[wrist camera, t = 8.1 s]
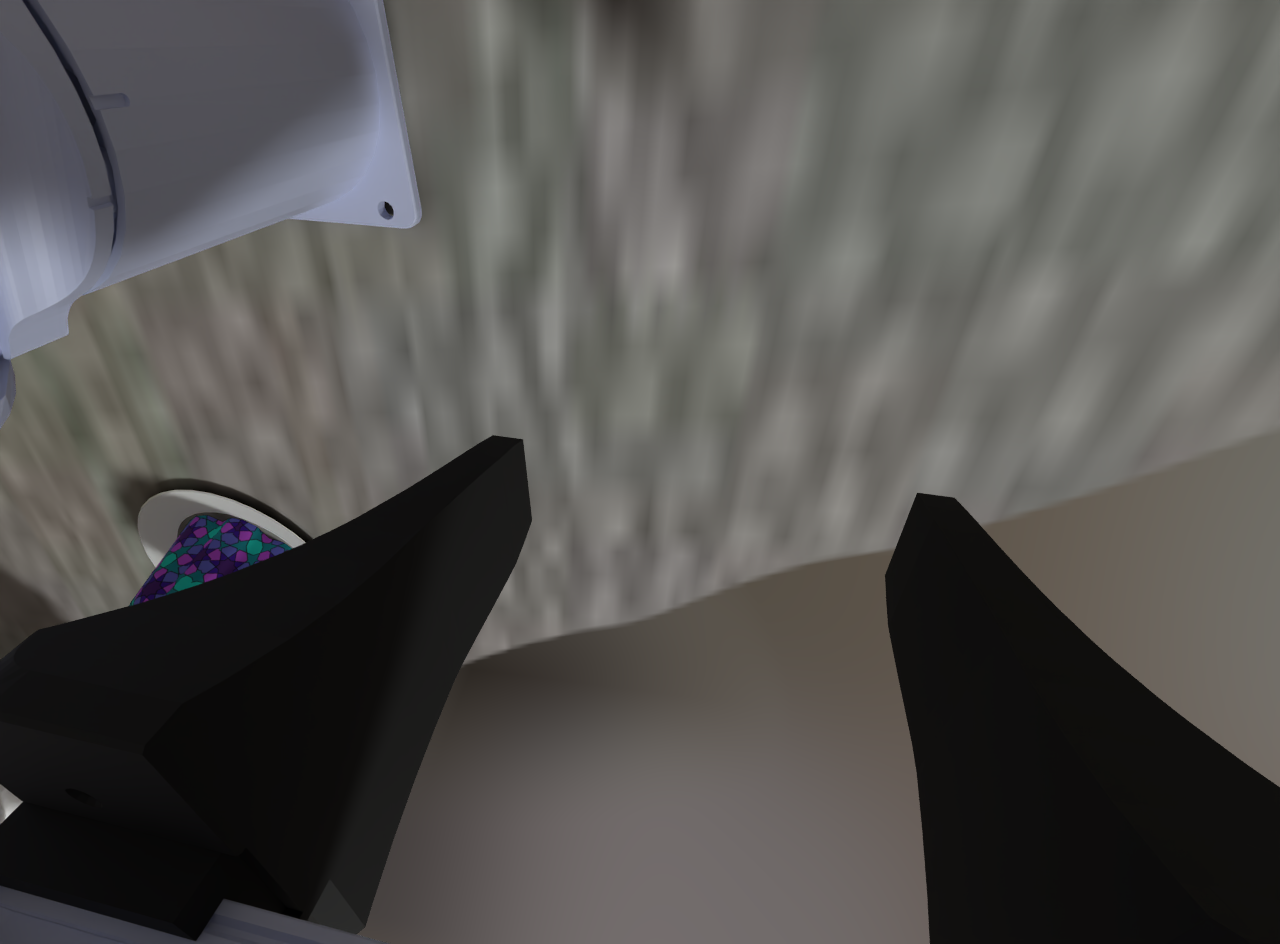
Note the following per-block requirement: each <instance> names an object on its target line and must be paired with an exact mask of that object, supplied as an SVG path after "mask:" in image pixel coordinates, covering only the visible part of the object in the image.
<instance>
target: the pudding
mask: <svg viewBox="0 0 1280 944" xmlns="http://www.w3.org/2000/svg"><path fill="white" fill-rule="evenodd" d="M203 512H216V513H222V514H228V515H232V516H235V517H239V518H242V519H245V520H247V521H250V522H252V523H254V524H257V525H259V526H261V527H263V528H264V529H266V530H268V531H270V532H272V533H273V534H275V535H276V536H278V537H279V538H281V539H282V540H284V541H285V542H287V543H288V544H289V545H290V546H292V547H293V548H295V547H297V546H300V545H302V544H304V543H306V542H305V541H303V540H302V539H301V538H300V537H298V536H297V535H296V534H295V533H294V532H292V531H291V530H289V529H288V528H286V527H285V526H283V525H282V524H280V523H279V522H277V521H276V520H274V519H272V518H270V517H268V516H267V515H265V514H263V513H261V512H259V511H257V510H255V509H254V508H251V507H249V506H247V505H244V504H242V503H239V502H237V501H235V500H232V499H229V498H226V497H222V496H219V495H216V494H212V493H207V492H201V491H195V490H172V491H167V492H161V493H159V494H157V495H155V496H153V497H151V498H149V499H148V500H147V501H146V502H145V503H144V505H143V506H142V507H141V510H140V512H139V515H138V532H139V536H140V540H141V542H142V545H143V547H144V549H145V551H146V553H147V555H148V557H149V558H150V560H151V561H152V563H153V564H154V566H155V567H156V568H155V570H154V571H153V572H152V574H151V575H150V576H149V578H148V579H147V581H146V582H145V583H144V585H143V586H142V588H141V589H140V590H139V592H138V593H137V594H136V596H135V597H134V599H133V600H132V601H131V603H130V605H129V606H132V605H135V604H138V603H142V602H145V601H149V600H152V599H155V598H158V597H162V596H165V595H168V594H171V593H174V592H177V591H181V590H184V589H187V588H190V587H193V586H196V585H199V584H202V583H205V582H207V581H210V580H213V579H216V578H219V577H222V576H225V575H227V574H230V573H233V572H235V571H238V570H240V569H243V568H245V567H248V566H250V565H253V564H255V563H258V562H260V561H263V560H265V559H268V558H270V557H273V556H276V555H278V554H281V553H283V552H286V551H288V550H290V549H292V548H291V547H289V546H288V545H286V544H285V543H283V542H280V541H276V540H272V539H269V538H268V537H267V536H266V535H265V534H264V533H263V532H262V531H261V530H260V529H259V528H258V527H256V526H254V525H252V524H250V523H248V522H246V521H244V520H239V519H235V518H229V519H227V520H225V521H223V522H221V521H219V520H217V519H215V518H212V517H210V516H208V515H203V516H196V517H194V518H193V519H192V520H190V522H189V523H188V524H187V526H186V527H185V529H184V530H183V531H182V532H181V534H180V535H179V536H178V538H177V534H178V528H179V526H180V524H181V522H183V521H184V520H185V519H186V518H187V517H189V516H191V515H194V514H197V513H203Z"/></svg>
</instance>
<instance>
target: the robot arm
mask: <svg viewBox="0 0 1280 944" xmlns="http://www.w3.org/2000/svg"><path fill="white" fill-rule="evenodd" d="M385 202H388V203H389V204H390V205H391V206H392V208H393V210H394V216H391V215H390V214H389V213H388V212H387V211H386V209H385ZM421 217H422V209H421V204H420V198H419V193H418V188H417V182H416V177H415V171H414V166H413V160H412V155H411V150H410V144H409V139H408V133H407V128H406V122H405V117H404V111H403V106H402V101H401V95H400V90H399V84H398V79H397V73H396V68H395V62H394V57H393V52H392V46H391V41H390V35H389V30H388V24H387V19H386V13H385V8H384V3H383V0H0V429H1V427H2V426H3V424H4V423H5V421H6V419H7V418H8V416H9V415H10V412H11V409H12V406H13V402H14V399H15V395H16V384H15V374H14V370H13V367H12V364H11V360H10V359H12V358H14V357H17V356H19V355H22V354H24V353H26V352H29V351H31V350H33V349H36V348H38V347H40V346H43V345H45V344H48V343H50V342H52V341H55V340H57V339H59V338H62V337H64V336H66V335H68V334H69V329H68V313H69V310H70V307H71V305H72V304H73V302H74V301H76V300H77V299H78V298H79V297H80V296H82V295H85V294H88V293H91V292H94V291H96V290H99V289H102V288H104V287H107V286H110V285H112V284H115V283H118V282H120V281H123V280H126V279H128V278H131V277H134V276H136V275H139V274H142V273H144V272H147V271H150V270H152V269H155V268H158V267H160V266H163V265H166V264H168V263H171V262H174V261H176V260H179V259H181V258H184V257H187V256H189V255H192V254H195V253H197V252H200V251H203V250H205V249H208V248H211V247H213V246H216V245H219V244H221V243H224V242H227V241H229V240H232V239H235V238H237V237H240V236H243V235H245V234H248V233H251V232H253V231H256V230H259V229H261V228H264V227H267V226H269V225H272V224H275V223H277V222H280V221H283V220H285V219H299V220H311V221H322V222H334V223H346V224H358V225H370V226H381V227H393V228H411V227H413V226H415V225H416V224H418V223H419V222H420V220H421ZM531 522H532V516H531V507H530V498H529V489H528V480H527V471H526V462H525V453H524V445H523V439H516V438H509V437H501V436H494V435H493V436H491V437H489V438H487V439H486V440H484V441H482V442H481V443H479V444H477V445H476V446H474V447H473V448H471V449H469V450H468V451H466V452H465V453H463V454H462V455H460V456H458V457H457V458H455V459H454V460H452V461H451V462H449V463H448V464H446V465H444V466H443V467H441V468H440V469H438V470H437V471H435V472H433V473H432V474H430V475H429V476H427V477H425V478H424V479H422V480H421V481H419V482H417V483H416V484H414V485H413V486H411V487H410V488H408V489H406V490H404V491H403V492H401V493H399V494H397V495H396V496H394V497H392V498H390V499H389V500H387V501H385V502H383V503H382V504H380V505H378V506H376V507H375V508H373V509H371V510H369V511H368V512H366V513H364V514H362V515H361V516H359V517H357V518H355V519H353V520H351V521H349V522H348V523H346V524H344V525H342V526H340V527H338V528H336V529H334V530H332V531H330V532H327V533H325V534H323V535H321V536H319V537H317V538H315V539H312V540H310V541H308V542H306V543H304V544H302V545H300V546H297V547H295V548H293V549H290V550H288V551H286V552H283V553H281V554H278V555H276V556H273V557H270V558H268V559H265V560H263V561H260V562H258V563H255V564H253V565H250V566H248V567H245V568H243V569H240V570H238V571H235V572H233V573H230V574H227V575H225V576H222V577H219V578H216V579H213V580H210V581H207V582H205V583H202V584H199V585H196V586H193V587H190V588H187V589H184V590H181V591H177V592H174V593H171V594H168V595H165V596H162V597H158V598H155V599H152V600H149V601H145V602H142V603H138V604H135V605H132V606H128V607H124V608H121V609H117V610H113V611H109V612H106V613H102V614H98V615H94V616H90V617H87V618H83V619H79V620H75V621H72V622H68V623H64V624H60V625H56V626H52V627H48V628H44V629H40V630H38V631H36V632H35V633H33V634H32V635H31V636H29V637H28V638H27V639H26V640H24V641H23V642H22V643H21V644H19V645H18V646H17V647H16V648H15V649H13V650H12V651H11V652H10V653H8V654H7V655H6V656H5V657H4V658H2V659H1V660H0V784H1V785H2V786H3V787H5V788H6V789H7V790H8V791H10V792H11V793H12V794H13V795H15V796H16V797H17V798H19V799H20V800H21V801H23V802H22V803H21V804H20V805H19V806H18V807H17V808H16V809H15V810H14V811H13V812H12V813H11V814H10V815H9V816H8V817H7V818H6V819H5V820H4V821H3V822H2V823H0V944H389V943H386V942H382V941H378V940H375V939H371V938H367V937H363V936H360V935H356V934H357V933H359V932H360V931H361V930H362V929H363V928H365V926H366V923H367V919H368V916H369V913H370V910H371V907H372V903H373V900H374V897H375V894H376V891H377V888H378V885H379V882H380V879H381V876H382V873H383V870H384V867H385V864H386V861H387V858H388V855H389V852H390V849H391V845H392V842H393V839H394V836H395V834H396V831H397V828H398V825H399V823H400V820H401V817H402V814H403V811H404V808H405V806H406V803H407V800H408V797H409V794H410V792H411V789H412V786H413V783H414V780H415V778H416V775H417V772H418V770H419V767H420V765H421V762H422V760H423V757H424V754H425V752H426V749H427V747H428V744H429V742H430V739H431V736H432V734H433V731H434V729H435V726H436V724H437V721H438V719H439V717H440V714H441V712H442V709H443V707H444V704H445V702H446V700H447V697H448V694H449V692H450V690H451V688H452V685H453V683H454V680H455V678H456V676H457V674H458V672H459V670H460V668H461V666H462V664H463V662H464V660H465V658H466V656H467V654H468V652H469V650H470V649H471V647H472V645H473V643H474V641H475V639H476V637H477V636H478V634H479V632H480V630H481V628H482V626H483V625H484V623H485V621H486V619H487V617H488V615H489V613H490V612H491V610H492V608H493V606H494V604H495V602H496V601H497V599H498V597H499V595H500V593H501V591H502V589H503V587H504V586H505V584H506V582H507V580H508V578H509V576H510V574H511V572H512V570H513V568H514V567H515V565H516V562H517V560H518V557H519V554H520V552H521V549H522V547H523V544H524V541H525V539H526V536H527V533H528V530H529V527H530V525H531ZM885 582H886V602H887V615H888V627H889V633H890V638H891V643H892V648H893V653H894V658H895V663H896V668H897V673H898V678H899V683H900V688H901V692H902V697H903V702H904V706H905V712H906V716H907V722H908V726H909V731H910V736H911V741H912V746H913V752H914V758H915V765H916V771H917V780H918V790H919V800H920V811H921V821H922V830H923V845H924V856H925V871H926V883H927V897H928V915H929V934H930V944H1280V787H1278V786H1277V785H1276V784H1274V783H1273V782H1271V781H1270V780H1268V779H1267V778H1265V777H1264V776H1263V775H1261V774H1260V773H1258V772H1257V771H1255V770H1254V769H1253V768H1251V767H1250V766H1248V765H1247V764H1245V763H1244V762H1243V761H1241V760H1240V759H1239V758H1237V757H1236V756H1234V755H1233V754H1232V753H1231V752H1229V751H1228V750H1226V749H1225V748H1224V747H1222V746H1221V745H1220V744H1218V743H1217V742H1216V741H1214V740H1213V739H1212V738H1210V737H1209V736H1208V735H1206V734H1205V733H1204V732H1202V731H1201V730H1200V729H1198V728H1197V727H1195V726H1194V725H1193V724H1191V723H1190V722H1189V721H1187V720H1186V719H1185V718H1184V717H1182V716H1181V715H1180V714H1178V713H1177V712H1176V711H1175V710H1173V709H1172V708H1171V707H1170V706H1168V705H1167V704H1166V703H1164V702H1163V701H1162V700H1161V699H1159V698H1158V697H1157V696H1156V695H1155V694H1153V693H1152V692H1151V691H1150V690H1149V689H1147V688H1146V687H1145V686H1144V685H1143V684H1141V683H1140V682H1139V681H1138V680H1137V679H1135V678H1134V677H1133V676H1132V675H1131V674H1129V673H1128V672H1127V671H1126V670H1125V669H1124V668H1122V667H1121V666H1120V665H1119V664H1118V663H1116V662H1115V661H1114V660H1113V659H1112V658H1111V657H1109V656H1108V655H1107V654H1106V653H1105V652H1104V651H1103V650H1102V649H1101V648H1099V647H1098V646H1097V645H1096V644H1095V643H1094V642H1093V641H1091V639H1090V638H1088V637H1087V636H1086V635H1085V634H1084V633H1083V632H1082V631H1081V630H1080V629H1079V628H1078V627H1077V626H1076V625H1075V624H1074V623H1073V622H1072V621H1071V620H1070V619H1068V617H1067V616H1065V615H1064V614H1063V613H1062V612H1061V611H1060V610H1059V609H1058V608H1057V607H1056V606H1055V605H1054V604H1053V603H1052V602H1051V601H1050V600H1049V599H1048V598H1047V597H1046V596H1045V595H1044V594H1043V593H1042V592H1041V591H1040V590H1039V589H1038V588H1037V587H1036V585H1035V584H1033V582H1031V580H1030V579H1029V578H1028V577H1027V576H1026V575H1025V574H1024V573H1023V572H1022V571H1021V570H1020V569H1019V568H1018V567H1017V565H1016V564H1015V563H1014V562H1013V561H1012V560H1011V559H1010V558H1009V557H1008V556H1007V555H1006V553H1005V552H1004V551H1003V550H1002V549H1001V548H1000V547H999V546H998V545H997V544H996V543H995V541H994V540H993V539H992V538H991V537H990V536H989V535H988V534H987V532H986V531H985V530H984V529H983V528H982V527H981V526H980V525H979V524H978V522H977V521H976V520H975V519H974V518H973V517H972V516H971V515H970V514H969V513H968V511H967V510H966V509H965V508H964V507H963V506H962V505H961V504H960V503H959V502H958V501H957V500H956V499H955V498H952V497H945V496H937V495H930V494H923V493H917V495H916V497H915V500H914V502H913V505H912V508H911V510H910V513H909V515H908V518H907V520H906V523H905V525H904V528H903V531H902V533H901V536H900V538H899V541H898V543H897V546H896V549H895V551H894V554H893V556H892V559H891V561H890V564H889V567H888V569H887V572H886V574H885Z"/></svg>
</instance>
